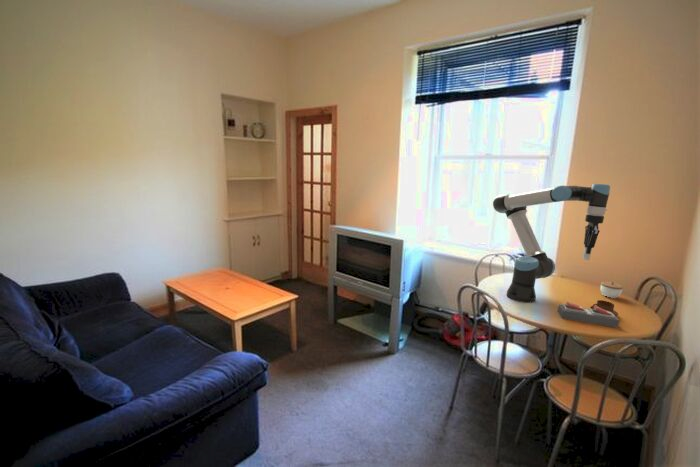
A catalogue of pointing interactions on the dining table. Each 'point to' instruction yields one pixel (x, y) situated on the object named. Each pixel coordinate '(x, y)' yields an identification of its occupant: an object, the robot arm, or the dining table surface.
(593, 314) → the power strip
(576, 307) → the rocker
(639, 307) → the dining table surface
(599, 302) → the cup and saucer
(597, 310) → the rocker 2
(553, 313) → the dining table surface
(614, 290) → the lidded jar
